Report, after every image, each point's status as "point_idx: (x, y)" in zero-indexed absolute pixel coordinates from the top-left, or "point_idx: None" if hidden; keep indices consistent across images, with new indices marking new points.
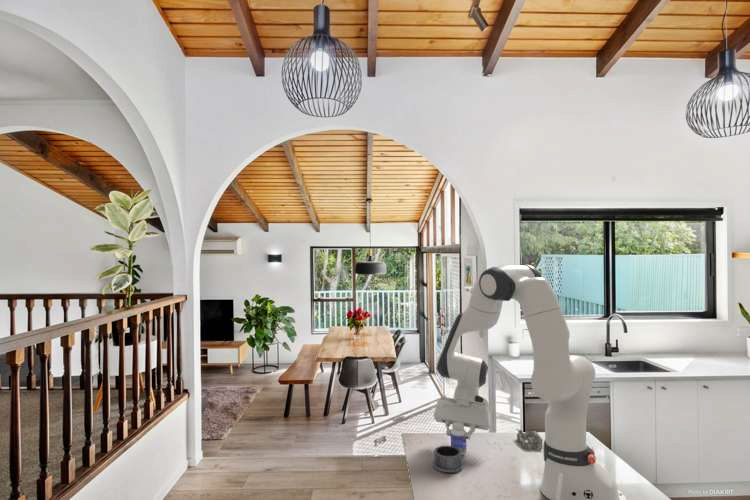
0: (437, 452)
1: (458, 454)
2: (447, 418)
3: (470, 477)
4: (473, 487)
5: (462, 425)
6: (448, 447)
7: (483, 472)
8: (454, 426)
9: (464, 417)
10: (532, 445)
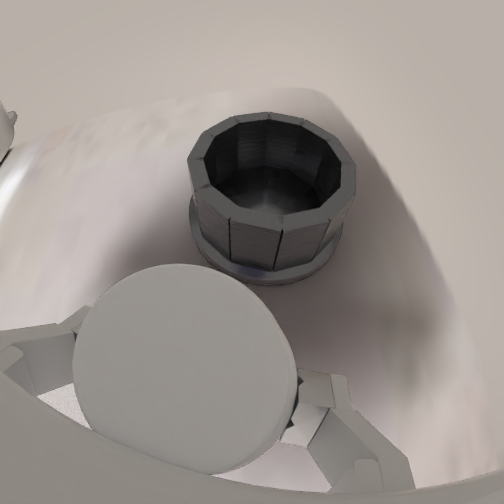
0: (336, 186)
1: (205, 139)
2: (414, 500)
3: (165, 159)
4: (166, 117)
5: (95, 304)
6: (278, 218)
7: (105, 202)
8: (239, 287)
9: (3, 468)
10: None
